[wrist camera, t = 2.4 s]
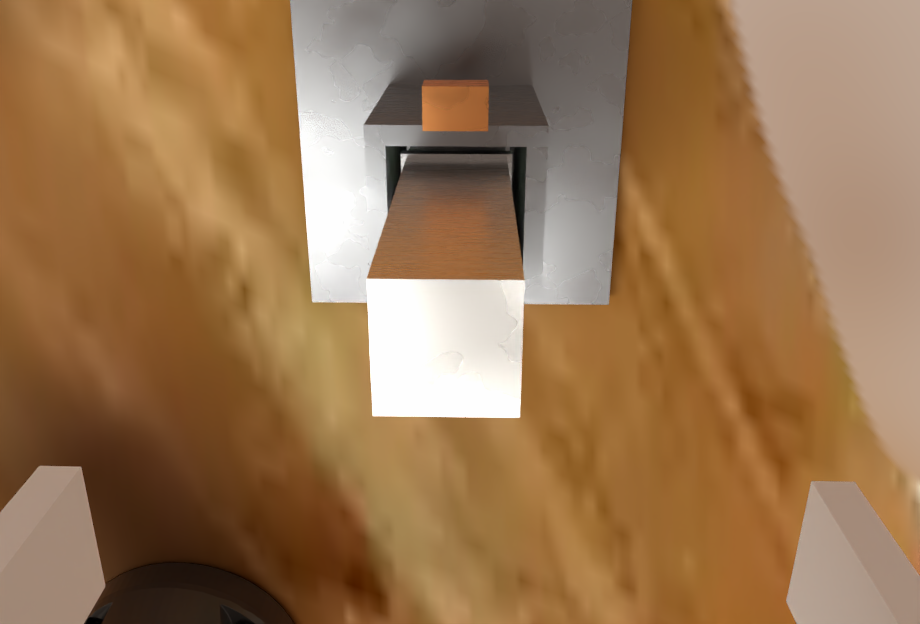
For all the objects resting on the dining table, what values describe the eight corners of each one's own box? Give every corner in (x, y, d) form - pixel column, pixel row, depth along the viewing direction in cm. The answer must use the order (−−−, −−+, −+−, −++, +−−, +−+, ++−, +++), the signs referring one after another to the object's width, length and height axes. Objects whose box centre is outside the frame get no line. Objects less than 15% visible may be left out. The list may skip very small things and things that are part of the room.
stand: (315, 295, 47) (265, 403, 36) (293, -16, 40) (224, -1, 29) (605, 297, 47) (646, 407, 35) (629, -15, 40) (688, 1, 29)
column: (415, 201, 43) (361, 425, 23) (413, 110, 42) (353, 267, 21) (505, 202, 43) (530, 427, 23) (507, 111, 41) (536, 268, 21)
